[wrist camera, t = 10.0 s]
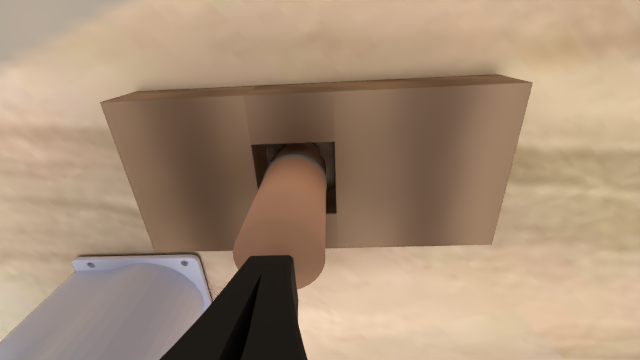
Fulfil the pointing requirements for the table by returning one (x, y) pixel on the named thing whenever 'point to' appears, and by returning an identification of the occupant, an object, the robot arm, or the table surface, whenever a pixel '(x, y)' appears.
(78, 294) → the robot arm
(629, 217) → the table surface
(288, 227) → the peg
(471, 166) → the board
